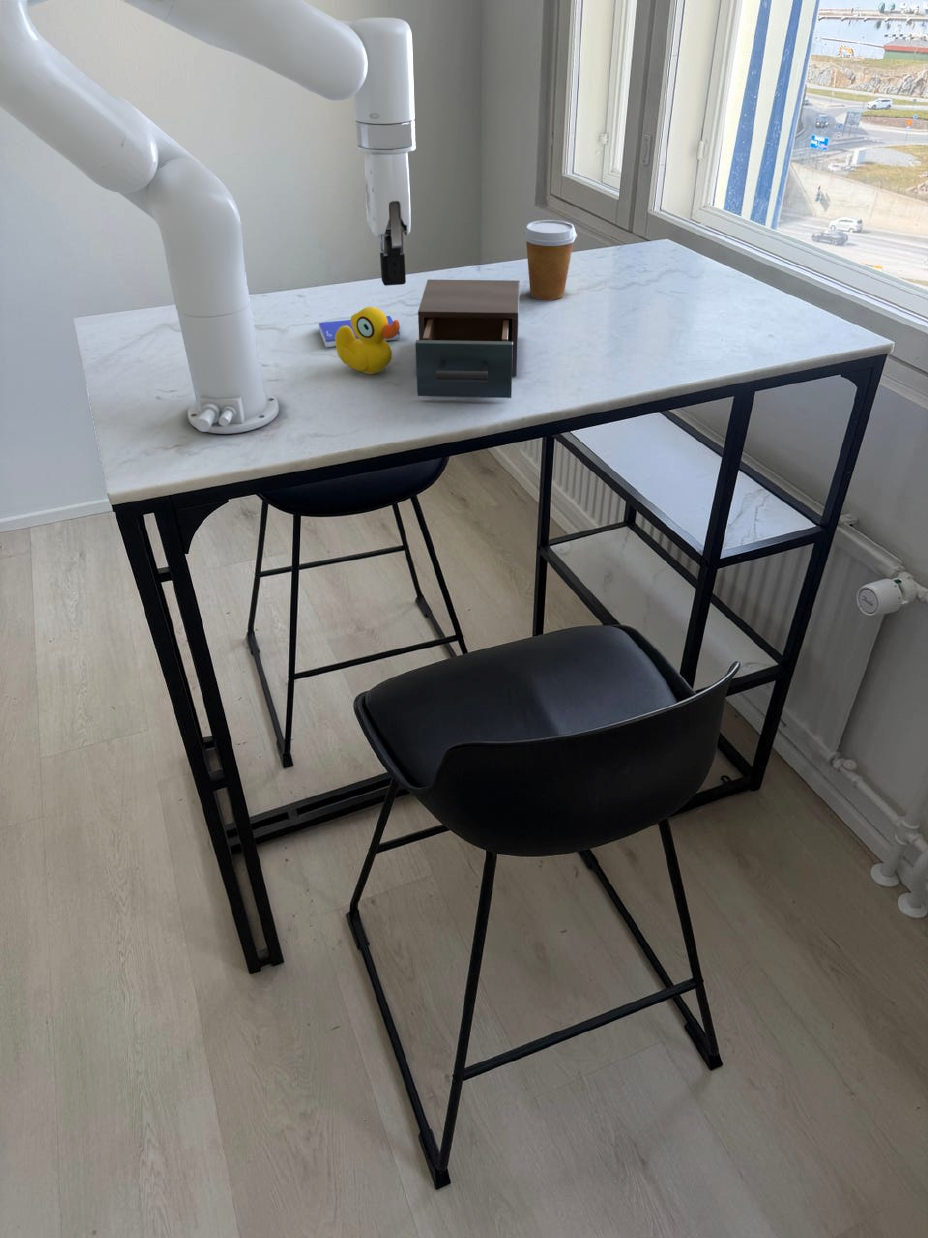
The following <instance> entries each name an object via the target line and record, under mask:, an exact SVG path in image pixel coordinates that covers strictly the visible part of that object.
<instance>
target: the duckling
mask: <svg viewBox="0 0 928 1238" xmlns="http://www.w3.org/2000/svg"><path fill="white" fill-rule="evenodd" d="M386 316H387V315H386V314H385V313H384V312H383V311H382V310H381V309H379V308H377V307H374V306H366V307H364V308H362V309H361V310H359V311H358V312H356V313H354V314H352V315H351V317H350V320H351V325H352V327H353V330H354V333H355V335H356V336H357V337H358V338H359V339H360V340H361V341H362V342H361V341H360V340H357V339H356V338H355V335H354V333H353V331H352V329H351V328H350V327H349V326H347V325H345V326H342V327H340V328H339V329H338V331H337V333H336V336H335V342H336V346H335V348H336V353H337V355H338V357H339V359H340V360H341V361H342V363H344V364H345V365H346V366H348V367H350V368H351V369H353V370H354V371H357V372H360V373H363V374H368V375H375V374H378V373H380V372H382V371H383V370H384V369H385V368H386V367H387V366H389V364H390V363H391V361H392V357H393V352H392V348H391V346H390V344H389V343H388V341H385V340H384V338H386V339H390V338H393V337H395V336H396V335H397V334H398V332H399V333H400V328H401V325H400V321H399V320H397V319H394V320H393V324H388V320H387V317H386Z"/></svg>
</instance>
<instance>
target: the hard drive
mask: <svg viewBox="0 0 928 1238" xmlns="http://www.w3.org/2000/svg"><path fill="white" fill-rule="evenodd" d="M386 317H387V320H388V324H393V322H394V320H393V318H392V317H391V316H390V315H386ZM345 325H347V326H349V327H350V328H351V329H352V331H353V333H354V330H353V327H352V325H351V319H346V320H345V319H344V320H334V321H324V322H318V331H319V334H320V336H321V338H322V341H323V343H324V345H325V348H332V347H336V342H335V336H336V333H337V331H338V329H339V328H340V327H342V326H345ZM400 334H401V333H400V331H399V332H398V334H397V335H396V336H395V337H393V338H390V339H386V338H384V340H385V341H386V342H389V341H396V340H401V335H400ZM354 335H355V333H354ZM355 338H356V339H357V340H360V339H359V338H358V337H357V336H356V335H355ZM360 341H361V340H360ZM361 342H362V341H361Z"/></svg>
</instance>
